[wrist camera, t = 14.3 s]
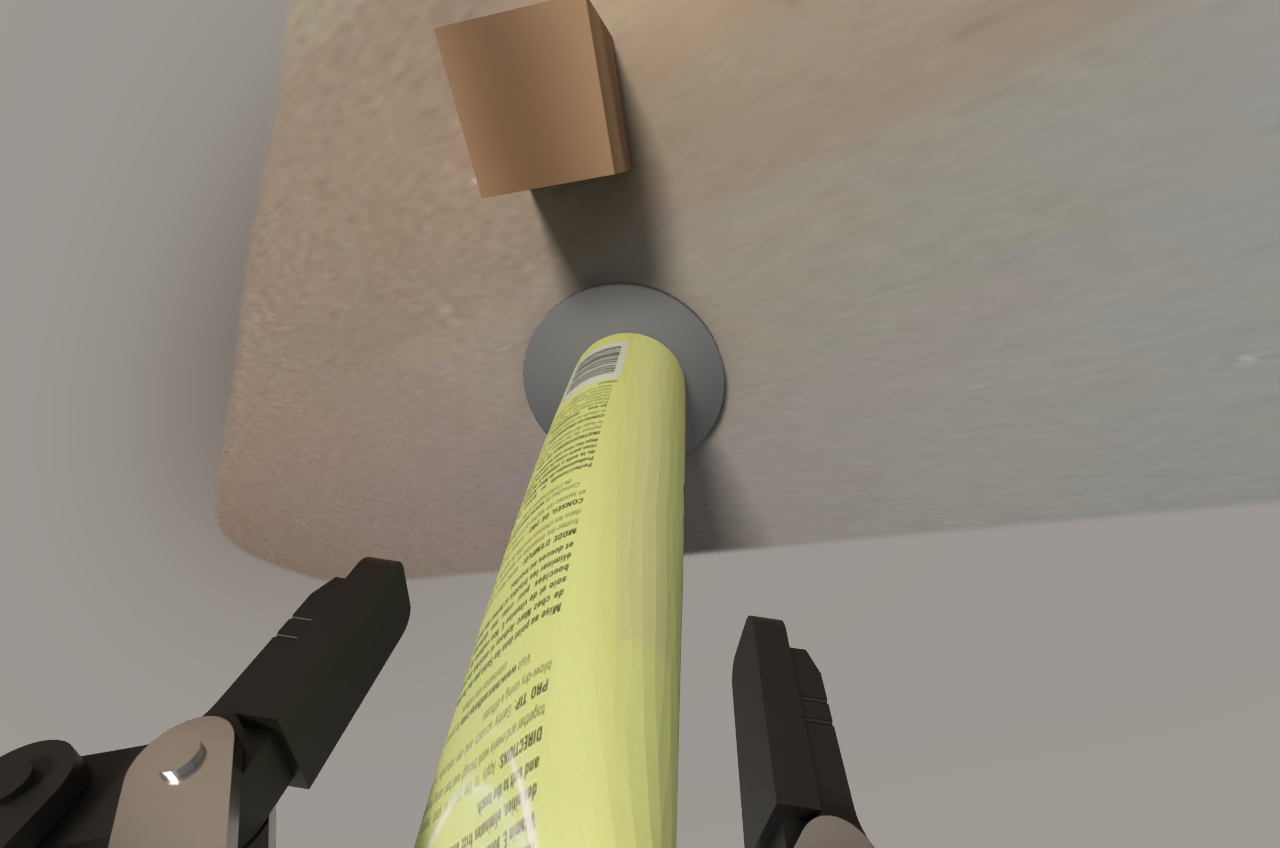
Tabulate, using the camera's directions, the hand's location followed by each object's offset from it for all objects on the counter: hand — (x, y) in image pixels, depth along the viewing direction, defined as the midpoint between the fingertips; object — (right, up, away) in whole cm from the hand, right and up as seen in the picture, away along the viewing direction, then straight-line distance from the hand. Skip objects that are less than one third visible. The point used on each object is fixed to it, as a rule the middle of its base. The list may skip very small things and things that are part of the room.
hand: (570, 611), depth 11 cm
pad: (+1, +6, +11) cm, 13 cm away
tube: (+1, +6, +11) cm, 12 cm away
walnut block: (-1, +15, +6) cm, 17 cm away
